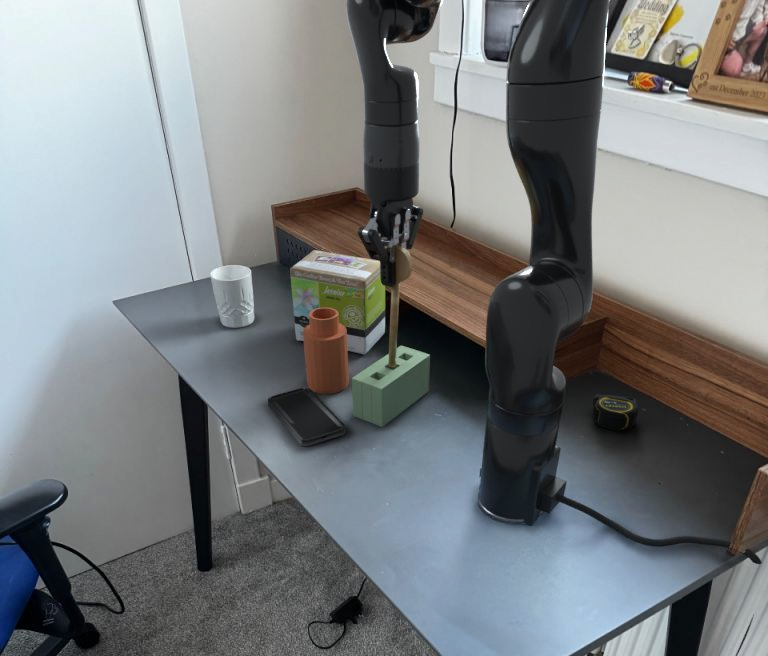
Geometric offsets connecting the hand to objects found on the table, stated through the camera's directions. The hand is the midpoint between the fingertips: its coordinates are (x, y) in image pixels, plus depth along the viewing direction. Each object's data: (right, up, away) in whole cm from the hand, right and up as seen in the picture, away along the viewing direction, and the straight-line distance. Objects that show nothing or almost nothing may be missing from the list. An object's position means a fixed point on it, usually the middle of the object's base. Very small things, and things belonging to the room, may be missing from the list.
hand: (392, 283), depth 108 cm
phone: (-14, -19, +10) cm, 26 cm away
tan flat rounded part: (0, -11, +9) cm, 14 cm away
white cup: (-31, +4, +38) cm, 49 cm away
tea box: (-10, -1, +32) cm, 34 cm away
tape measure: (+35, -20, +9) cm, 41 cm away
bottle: (-11, -12, +19) cm, 25 cm away
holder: (0, -16, +13) cm, 21 cm away
